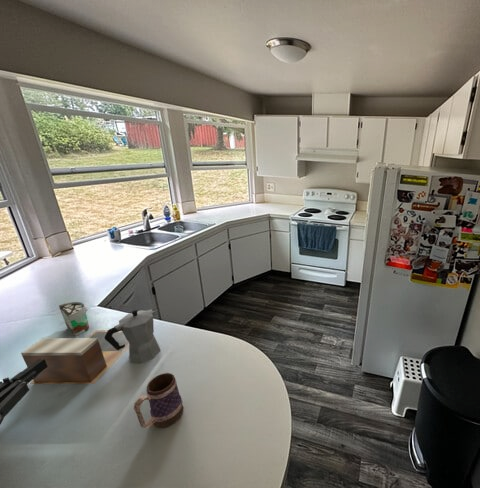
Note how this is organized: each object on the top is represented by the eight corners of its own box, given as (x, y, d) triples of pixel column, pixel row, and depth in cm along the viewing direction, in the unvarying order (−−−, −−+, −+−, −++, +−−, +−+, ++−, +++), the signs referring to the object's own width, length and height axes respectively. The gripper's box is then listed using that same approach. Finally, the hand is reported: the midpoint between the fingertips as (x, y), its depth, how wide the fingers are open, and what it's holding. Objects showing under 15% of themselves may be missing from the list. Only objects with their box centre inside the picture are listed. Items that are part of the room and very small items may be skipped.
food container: (98, 330, 97) (91, 308, 93) (77, 339, 92) (68, 316, 88) (86, 318, 103) (79, 297, 99) (66, 326, 98) (58, 304, 94)
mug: (171, 399, 71) (164, 366, 67) (189, 409, 68) (183, 375, 64) (133, 433, 62) (122, 398, 58) (152, 446, 59) (142, 410, 55)
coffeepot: (156, 338, 93) (147, 297, 87) (172, 347, 89) (163, 304, 83) (108, 367, 80) (92, 321, 74) (124, 379, 76) (109, 331, 70)
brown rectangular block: (34, 382, 73) (20, 352, 70) (54, 366, 79) (42, 338, 75) (91, 382, 74) (80, 352, 71) (106, 366, 80) (97, 338, 76)
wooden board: (29, 386, 73) (28, 384, 73) (96, 331, 96) (96, 330, 95) (94, 385, 74) (93, 383, 74) (145, 331, 97) (144, 330, 96)
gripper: (-115, 476, 47) (23, 373, 69) (-41, 474, 48) (72, 373, 70) (-138, 449, 44) (12, 352, 67) (-59, 448, 45) (64, 351, 67)
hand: (43, 362), depth 68 cm, fingers closed
